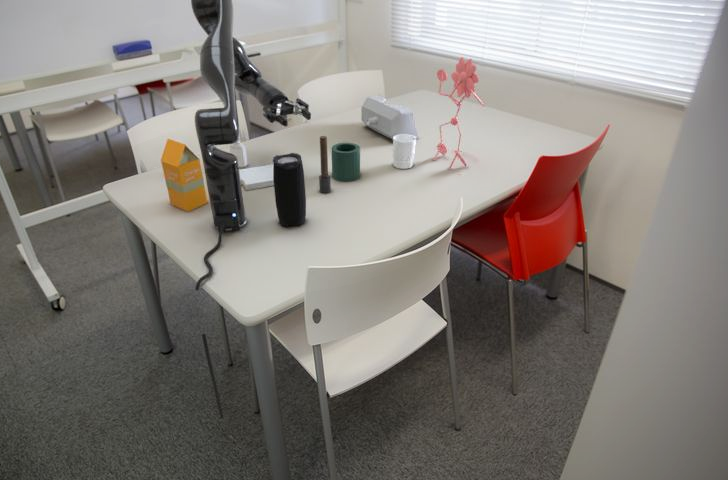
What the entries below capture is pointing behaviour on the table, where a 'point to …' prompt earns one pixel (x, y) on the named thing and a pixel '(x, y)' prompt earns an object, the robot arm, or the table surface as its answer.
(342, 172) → the green plastic pot
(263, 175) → the mounting plate
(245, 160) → the eye dropper bottle
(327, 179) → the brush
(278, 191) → the portable speaker
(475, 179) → the table surface
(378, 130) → the tank
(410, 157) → the white cup
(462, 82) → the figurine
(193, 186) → the orange juice
